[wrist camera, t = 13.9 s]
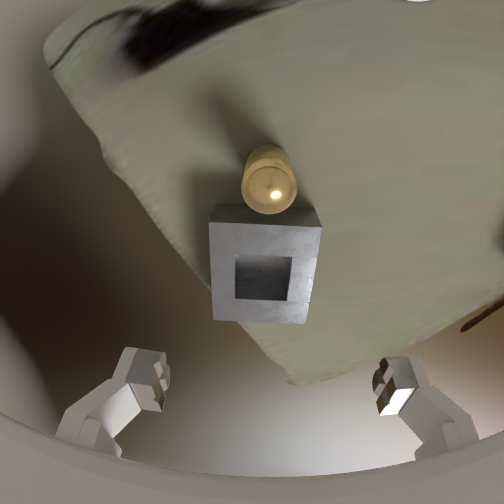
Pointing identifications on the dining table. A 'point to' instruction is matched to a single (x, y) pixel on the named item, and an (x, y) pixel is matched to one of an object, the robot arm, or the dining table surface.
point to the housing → (262, 263)
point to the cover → (268, 180)
